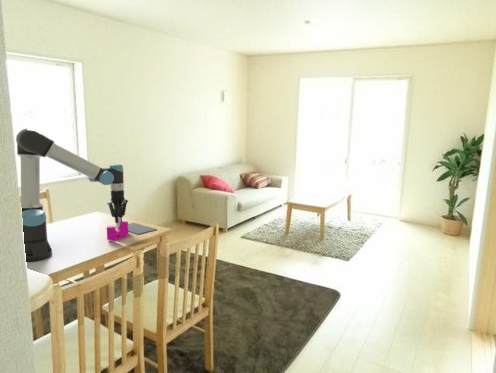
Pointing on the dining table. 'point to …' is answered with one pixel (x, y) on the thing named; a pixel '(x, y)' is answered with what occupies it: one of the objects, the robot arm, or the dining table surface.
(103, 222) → the dining table surface
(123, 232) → the magenta bearing cap
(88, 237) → the dining table surface
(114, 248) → the dining table surface
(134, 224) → the pad
